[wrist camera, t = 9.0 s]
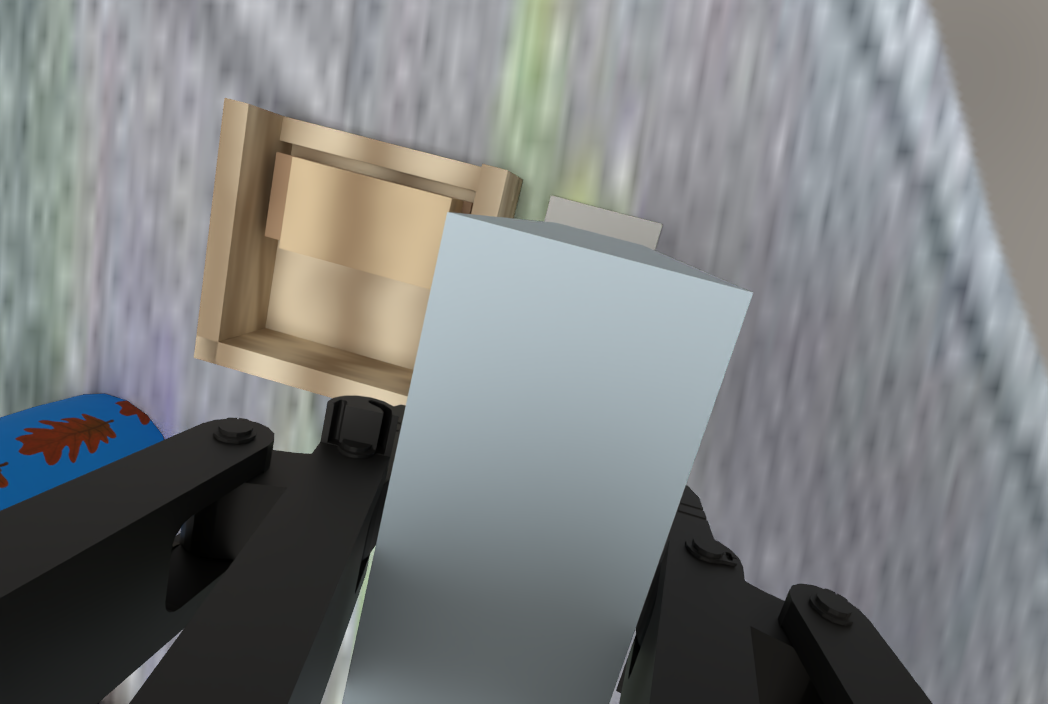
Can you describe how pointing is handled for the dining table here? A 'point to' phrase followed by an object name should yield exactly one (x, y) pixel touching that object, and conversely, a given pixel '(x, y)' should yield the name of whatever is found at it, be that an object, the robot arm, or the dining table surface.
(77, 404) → the thermos
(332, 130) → the box
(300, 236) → the offcut
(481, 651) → the pale blue block
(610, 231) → the mat
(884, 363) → the dining table surface
